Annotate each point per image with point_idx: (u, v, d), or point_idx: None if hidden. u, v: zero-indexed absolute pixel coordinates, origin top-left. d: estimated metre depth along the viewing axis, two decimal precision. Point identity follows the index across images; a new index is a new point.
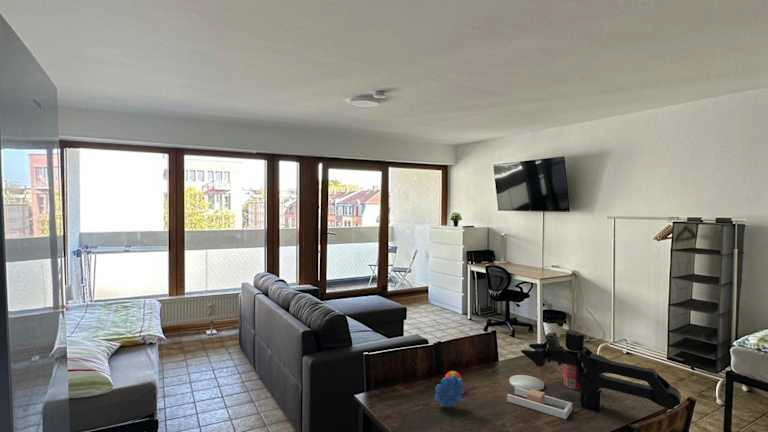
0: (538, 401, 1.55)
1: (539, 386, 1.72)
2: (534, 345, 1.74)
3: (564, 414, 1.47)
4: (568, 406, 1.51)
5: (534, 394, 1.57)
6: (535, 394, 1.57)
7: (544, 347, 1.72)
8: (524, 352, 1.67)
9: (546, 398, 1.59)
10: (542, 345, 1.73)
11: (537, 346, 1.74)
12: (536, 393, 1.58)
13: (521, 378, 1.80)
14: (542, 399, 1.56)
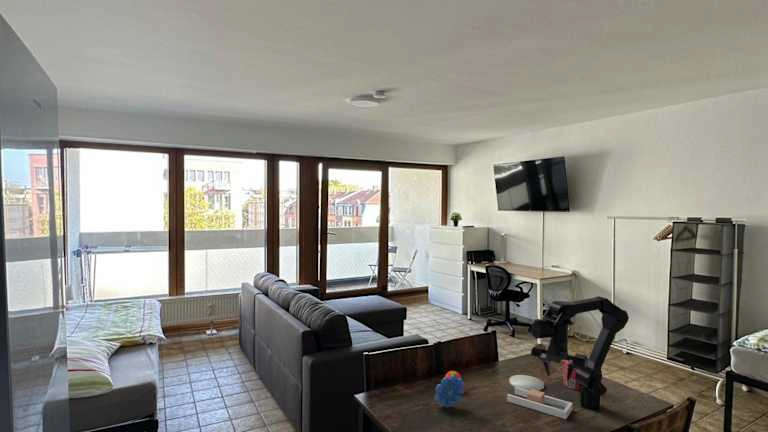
0: (538, 401, 1.55)
1: (539, 386, 1.72)
2: (548, 371, 1.54)
3: (564, 414, 1.47)
4: (568, 406, 1.51)
5: (534, 394, 1.57)
6: (535, 394, 1.57)
7: None
8: (569, 377, 1.50)
9: (546, 398, 1.59)
10: (547, 362, 1.54)
11: (548, 367, 1.55)
12: (536, 393, 1.58)
13: (521, 378, 1.80)
14: (542, 399, 1.56)
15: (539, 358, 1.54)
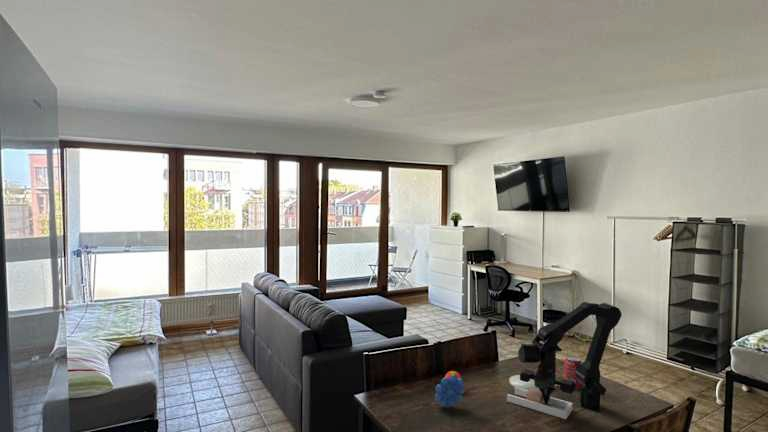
0: (537, 401, 1.55)
1: None
2: (545, 398, 1.55)
3: (564, 414, 1.47)
4: (568, 406, 1.51)
5: (533, 394, 1.57)
6: (534, 394, 1.57)
7: None
8: (548, 400, 1.55)
9: None
10: (544, 389, 1.55)
11: (545, 394, 1.55)
12: (536, 393, 1.58)
13: None
14: (541, 399, 1.57)
15: None
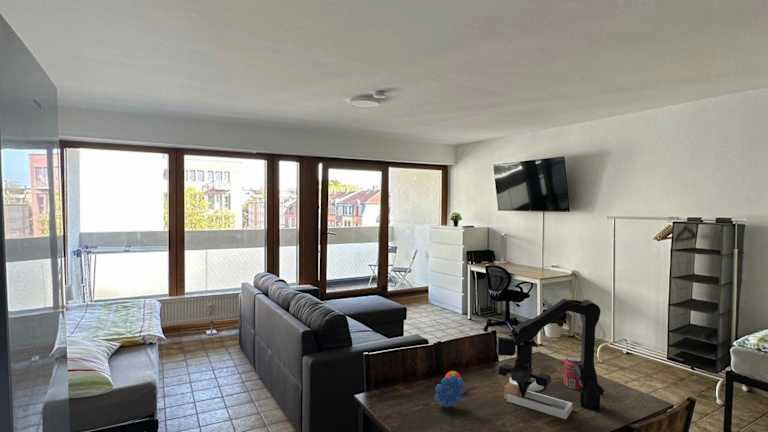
0: (514, 394, 1.60)
1: (539, 386, 1.72)
2: (522, 391, 1.60)
3: (564, 414, 1.47)
4: (568, 406, 1.51)
5: (511, 387, 1.62)
6: (512, 387, 1.62)
7: None
8: (525, 393, 1.60)
9: (546, 398, 1.59)
10: (521, 383, 1.60)
11: None
12: (513, 386, 1.63)
13: None
14: (519, 392, 1.62)
15: None
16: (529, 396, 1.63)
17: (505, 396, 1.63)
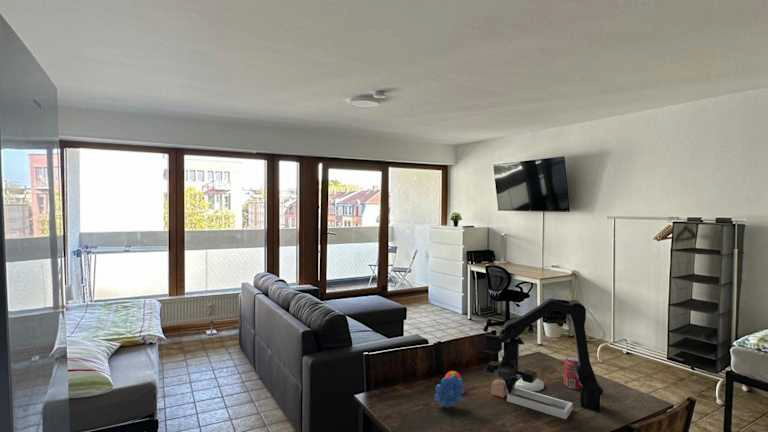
0: (501, 390, 1.64)
1: (539, 386, 1.72)
2: (509, 388, 1.64)
3: (564, 414, 1.47)
4: (568, 406, 1.51)
5: (498, 383, 1.65)
6: (499, 384, 1.65)
7: None
8: (512, 389, 1.64)
9: (546, 398, 1.59)
10: (508, 380, 1.63)
11: (509, 384, 1.64)
12: (500, 382, 1.66)
13: (521, 378, 1.80)
14: (505, 388, 1.65)
15: None
16: (529, 396, 1.63)
17: (492, 392, 1.66)
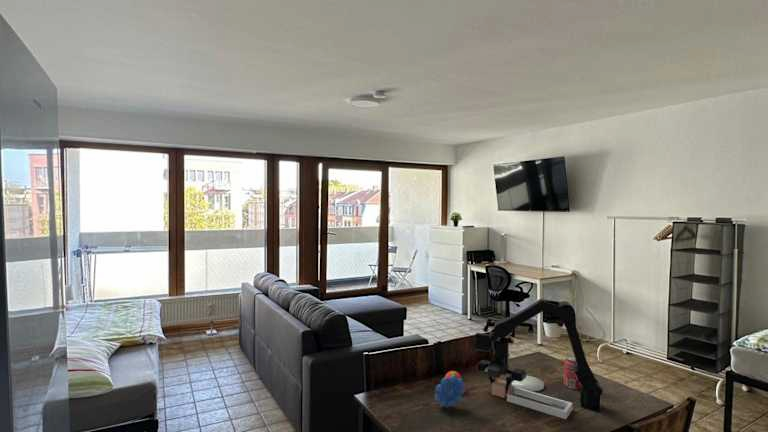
0: (502, 390, 1.63)
1: (539, 386, 1.72)
2: None
3: (564, 414, 1.47)
4: (568, 406, 1.51)
5: (498, 384, 1.65)
6: (499, 384, 1.65)
7: None
8: (508, 390, 1.65)
9: (546, 398, 1.59)
10: (492, 376, 1.68)
11: (493, 381, 1.68)
12: (501, 383, 1.66)
13: None
14: None
15: (485, 373, 1.67)
16: (529, 396, 1.63)
17: (493, 392, 1.66)
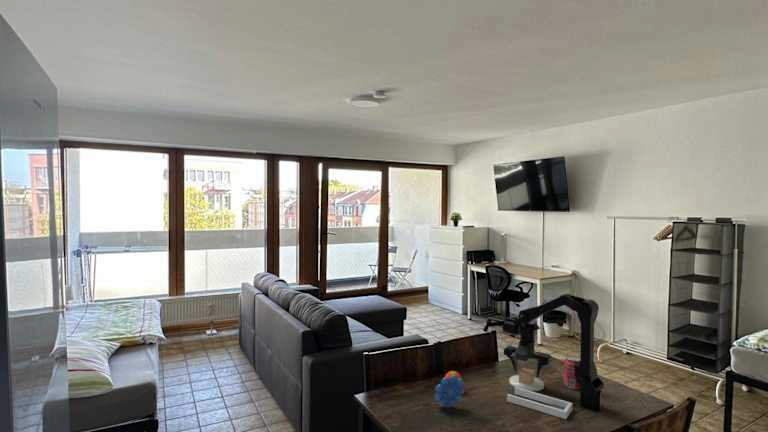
0: (529, 378, 1.73)
1: (539, 386, 1.72)
2: (515, 367, 1.78)
3: (564, 414, 1.47)
4: (568, 406, 1.51)
5: (525, 372, 1.75)
6: (526, 372, 1.75)
7: (515, 357, 1.79)
8: (539, 374, 1.73)
9: (546, 398, 1.59)
10: (514, 360, 1.78)
11: (515, 364, 1.79)
12: (527, 371, 1.76)
13: None
14: (532, 376, 1.75)
15: (507, 356, 1.78)
16: (529, 396, 1.63)
17: (520, 380, 1.75)
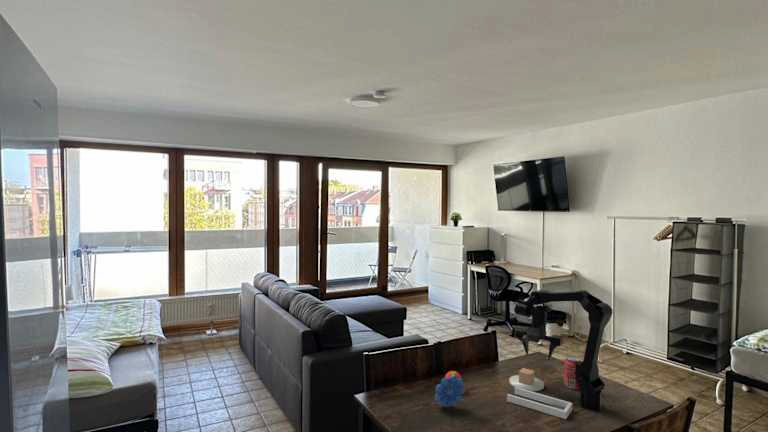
0: (529, 378, 1.73)
1: (539, 386, 1.72)
2: (527, 349, 1.77)
3: (564, 414, 1.47)
4: (568, 406, 1.51)
5: (525, 372, 1.75)
6: (526, 372, 1.75)
7: (526, 340, 1.78)
8: (550, 356, 1.72)
9: (546, 398, 1.59)
10: (525, 342, 1.77)
11: (527, 346, 1.78)
12: (527, 371, 1.76)
13: None
14: (532, 376, 1.75)
15: (518, 338, 1.77)
16: (529, 396, 1.63)
17: (520, 380, 1.75)
